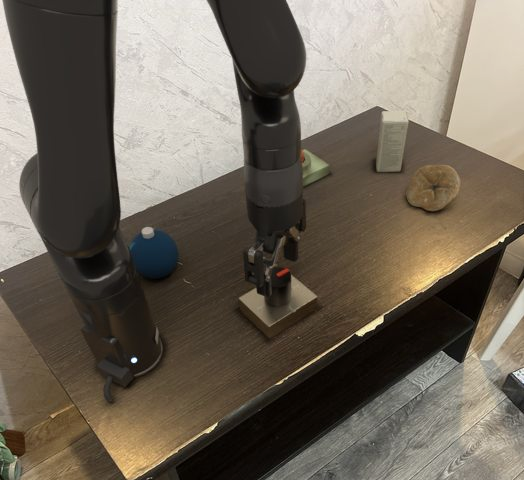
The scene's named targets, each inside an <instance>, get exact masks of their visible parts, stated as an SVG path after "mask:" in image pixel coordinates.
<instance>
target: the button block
mask: <svg viewBox="0 0 524 480" xmlns="http://www.w3.org/2000/svg"><path fill="white" fill-rule="evenodd" d="M301 150H302V151H303V152H304V162H303V163H302V167H303V188H304V187H305V186H307V185H309V184H312V183H314V182H316V181H318V180H320V179H322V178H324V177H326V176H329V174H330V164H328V163H327V162H326V161H324V160H323V159H322V158H320V157H318V156H316V155H315V154H313V153H311V152H310V151H309V150H307V149H306V148H305V149H301Z"/></svg>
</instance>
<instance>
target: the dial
mask: <svg viewBox="0 0 524 480" xmlns="http://www.w3.org/2000/svg"><path fill="white" fill-rule="evenodd" d="M291 275H292V274H291V272H290V270H289V269H288V267H287V268H285V267H281V266H274V267H273V269H272V273H271V285H272V294H271V296H270V297H265V296H264V299H265V301H266V303H267V304H269V305H271V306H274V307H281V306H284V305H286V304H288V303H289V302H290V300H291Z"/></svg>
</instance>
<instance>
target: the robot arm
mask: <svg viewBox="0 0 524 480" xmlns="http://www.w3.org/2000/svg"><path fill="white" fill-rule="evenodd" d="M205 1H206V3H207V4H208V6H209V8H210V10H211V12H212V14H213V17H214V19H215V22H216V24H217V27H218V29H219V31H220V34H221V36H222V38H223V41H224V44H225V45H226V47H227V50H228V52H229V54H230V55H229V56H231V60H232V67H233V73H234V79H235V86H236V91H237V96H238V101H239V107H240V120H241V122H240V123H241V139H242V150H243V151H242V152H243V182H244V183H243V184H244V190H245V193H244V194H245V203H246V212H247V218H248V221H249V223H250V224H251V225H252V226H253V228H254V229H255V231H256V234H255V244H254V245H252V247H250V246H245V247H244V249H243V251H242V254H243V268H244V269H243V270H244V280H245V282H247V283H250V284H253V285H255V288H256V289H257V294H260V295H262V296H265V297H270V296H271V294H272V285H271V273H272V269H273V268H274V267H277V265H278V263H279V259H280V256H281V252H282V249H283V258H284V259H285V260H286V261H290V262H293V263H296V262H297V261H298V259H299V242H300V241H301V237H302V235H301V233H304V232H306V229H307V207H306V205H307V204H306V198H304V187H303V167H302V160H301V150H302V125H301V123H302V122H301V117H300V111H299V109H298V108H299V107H298V105H297V102H296V97H295V90H296V88H297V87H298V86H299V84H300V83H301V81H302V79H303V78H304V74H305V72H306V68H307V67H306V66H307V50H306V45H305V41H304V38H303V35H302V33H301V31H300V29H299V26H298V24H297V21H296V19H295V17H294V13H293V12H292V9H291V7H290V5H289V3H288V1H287V0H205ZM1 2H2V6H3V12H4V16H5V21H6V26H7V30H8V34H9V40H10V42H11V45H12V46H11V47H12V51H13V54H14V58H15V61H16V66H17V68H18V73H19V76H20V79H21V83H22V86H23V89H24V93H25V96H26V100H27V104H28V106H29V109H30V114H31V118H32V122H33V127H34V134H35V142H36V153H35V154H33V156H31V157H30V158H29V159H28V160H27V162H26V163H25V164H24V166H23V167H22V169H21V173H20V176H19V183H18V186H19V187H18V188H19V194H20V198H21V202H22V203H23V205H24V208H25V209H26V211H27V213H28V216H29V218H30V220H31V222H32V224H33V226H34V228H35V231H36V232H37V233H38V235H39V237H40V239H41V241H42V243H43V245H44V247H45V249H46V251H47V254H48V255H49V258H50V259H51V262H52V263H53V265H54V268H55V270H56V272H57V273H58V276H59V278H60V279H61V281H62V282H63V285H64V288H65V290H66V291H67V293H68V295H69V297H70V300H71V301H72V303H73V305H74V307H75V309H76V311H77V314H78V315H79V317H80V319H81V321H82V323H83V324H82V325H81V326H80V328H79V330H80V332H81V334H82V336H83V338H84V340H85V342H86V343H87V345H88V348H89V350H90V352H91V353H92V356H93V358H94V360H95V361H96V363H97V365H96V368H97V370H98V372H99V374H100V375H101V376H102V377H104V378H106V380H105V383H104V385H103V397H104V399H105V400H106V402H107V403H111V402H113V401H114V397H113V396H112V394H111V387H112V384H113V382H114V383H116V384H118V385H119V386H121V387H123V388H126V386H128V385H129V384H130V383H131V382H132V381H134V379H135V378H139V377H142V376H144V375H147V374H148V373H150V372H151V371H152V370H154V369H155V368H156V367H157V366H158V365H159V363H160V362H161V360H162V357H163V354H164V345H163V344H162V340H161V338H160V336H159V335H160V331H159V329H158V326H156V325H155V322H154V318H153V315H152V312H151V308H150V307H149V304H148V303H149V302H148V300H147V297H146V295H145V291H144V288H143V285H142V282H141V278H140V275H139V273H138V272H137V270H136V267H135V264H134V261H133V258H132V255H131V252H130V249H129V248H130V246H129V245H128V242H127V241H126V239H125V236H124V235H123V232H122V230H121V228H120V222H121V218H122V211H121V210H122V208H121V197H120V196H121V195H120V187H119V180H118V169H117V160H116V159H117V158H116V148H115V107H116V79H117V77H116V75H117V74H116V73H117V33H118V11H119V10H118V7H119V0H2V1H1ZM264 253H266V254H269V255H272V256H271V258H269V257H266V256H265V255H264ZM265 266H266V268H265Z"/></svg>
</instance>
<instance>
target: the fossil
mask: <svg viewBox="0 0 524 480" xmlns="http://www.w3.org/2000/svg"><path fill="white" fill-rule="evenodd" d="M461 185H462V180H461V178H460V176H459V174H458V172H457V170H455V169H454V168H453V166H452V167H451V166H450V165H448V164H438V165H437V164H436V165H431V164H426V165H423V166H422V167H420V168H418V169H417V170H416V171H415V172H414V174H413V175H412V177H411V180H410V183H409V185H408V188H407V190H406V193H405V194H406V200H407V202H408V203H409V204H410V205H411V206H413V207H415V208H416V207H417V208H422V209H424V210H426V211H428V212H435V211H436V212H437V211H439V210H443V209H445V208H446V207H447V206H448V205H450V204H451V202H453V201H454V200H455V199H456V198H457V197H458V195H459V192H460V191H459V190H460V186H461Z"/></svg>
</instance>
